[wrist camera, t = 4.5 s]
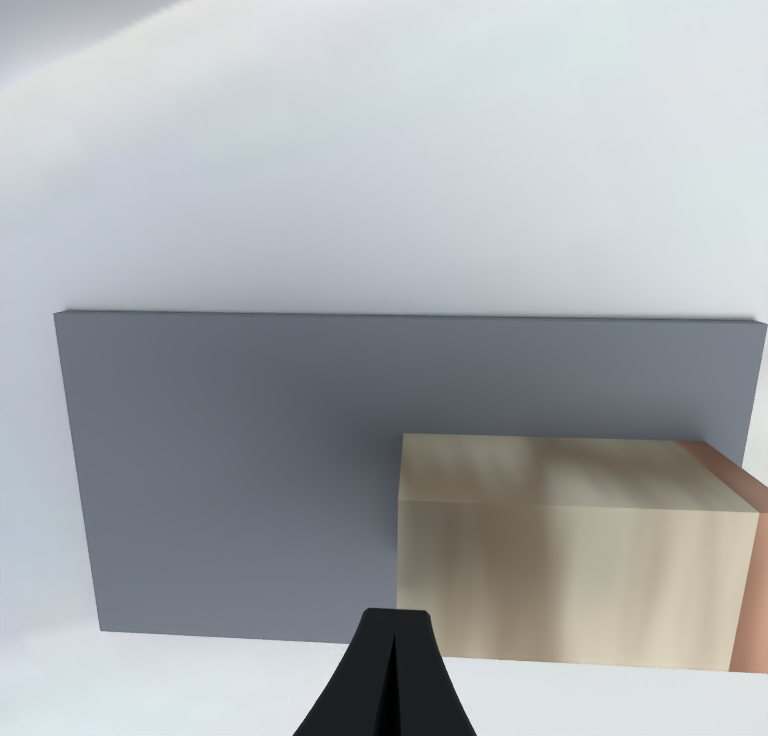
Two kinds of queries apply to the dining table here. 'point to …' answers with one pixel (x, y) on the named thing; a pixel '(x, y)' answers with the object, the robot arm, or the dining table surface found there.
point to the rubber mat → (338, 442)
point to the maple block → (585, 551)
